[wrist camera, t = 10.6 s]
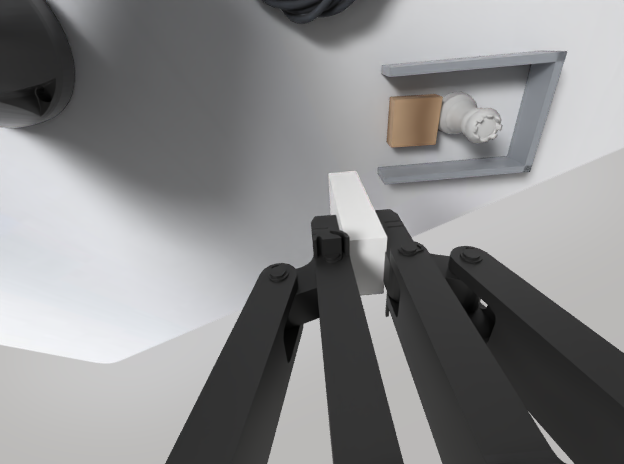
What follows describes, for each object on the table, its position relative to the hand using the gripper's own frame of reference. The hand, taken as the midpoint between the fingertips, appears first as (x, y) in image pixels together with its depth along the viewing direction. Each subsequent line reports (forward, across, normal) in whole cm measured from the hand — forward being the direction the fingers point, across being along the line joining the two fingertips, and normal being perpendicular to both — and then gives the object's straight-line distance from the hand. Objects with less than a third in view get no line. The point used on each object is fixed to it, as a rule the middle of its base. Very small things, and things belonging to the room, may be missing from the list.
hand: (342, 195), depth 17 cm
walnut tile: (+21, +10, -1) cm, 24 cm away
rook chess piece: (+21, +15, -1) cm, 26 cm away
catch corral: (+21, +15, -1) cm, 26 cm away
